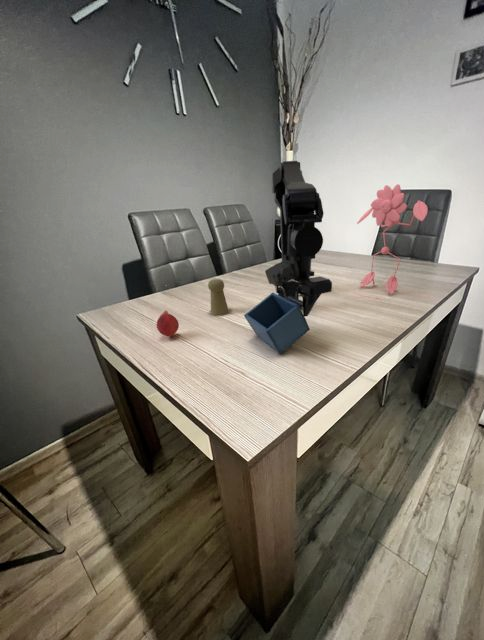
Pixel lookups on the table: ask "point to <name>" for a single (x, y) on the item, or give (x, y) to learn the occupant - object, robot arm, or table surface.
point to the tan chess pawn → (217, 297)
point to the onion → (167, 324)
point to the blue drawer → (278, 321)
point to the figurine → (390, 223)
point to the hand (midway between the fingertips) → (297, 311)
